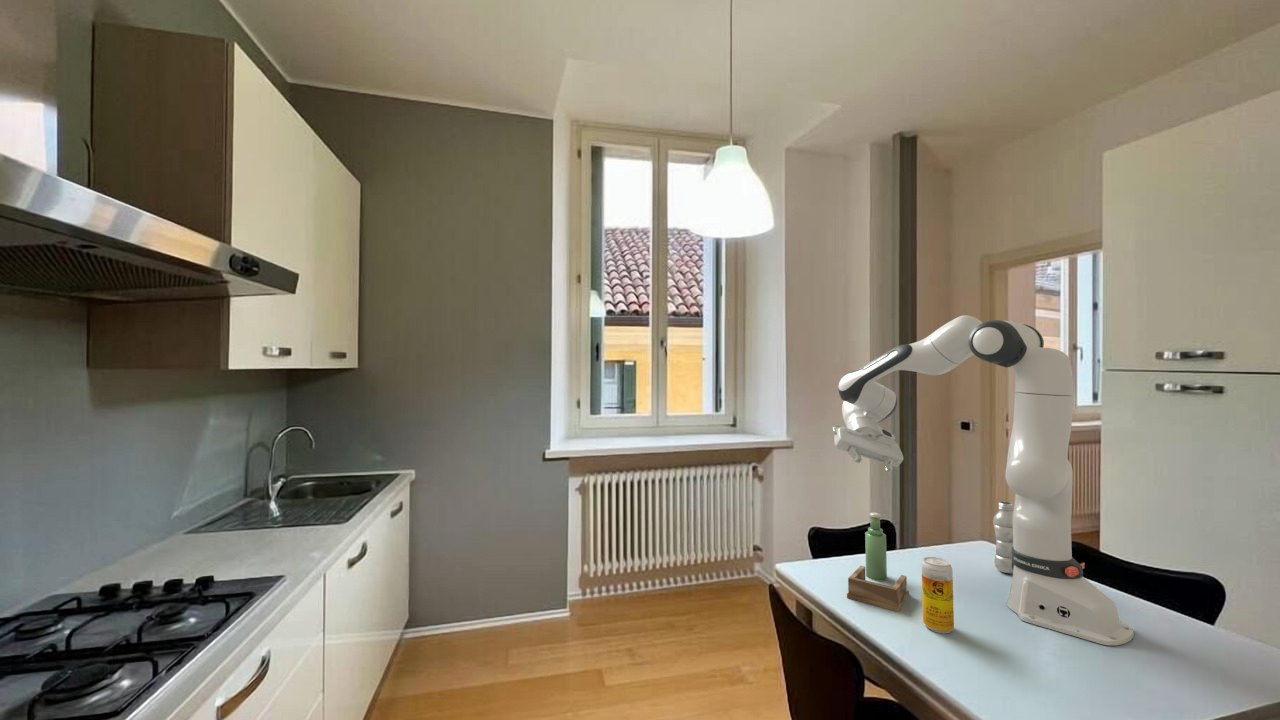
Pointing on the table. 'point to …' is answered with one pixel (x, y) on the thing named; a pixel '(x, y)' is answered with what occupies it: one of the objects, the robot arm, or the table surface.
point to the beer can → (937, 594)
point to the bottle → (875, 550)
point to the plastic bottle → (1004, 536)
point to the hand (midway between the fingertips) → (873, 465)
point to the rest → (877, 591)
